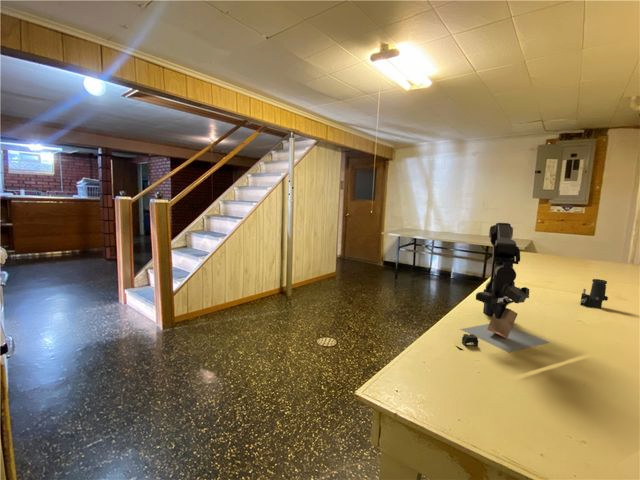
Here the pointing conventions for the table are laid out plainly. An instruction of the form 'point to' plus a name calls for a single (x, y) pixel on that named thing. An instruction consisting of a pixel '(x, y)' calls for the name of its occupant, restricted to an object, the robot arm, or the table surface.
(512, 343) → the slate mat
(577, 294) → the table surface
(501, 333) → the walnut post
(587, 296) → the scope
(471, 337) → the black mounting bracket
